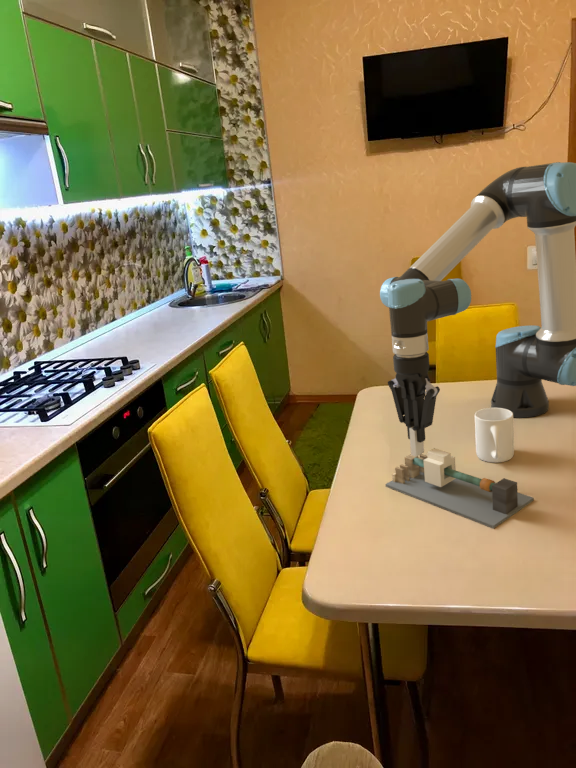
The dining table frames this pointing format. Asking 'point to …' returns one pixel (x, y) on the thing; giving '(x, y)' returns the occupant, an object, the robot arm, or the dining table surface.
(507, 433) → the mug
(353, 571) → the dining table surface
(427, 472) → the sleeve
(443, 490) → the mat
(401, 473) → the comb rail
